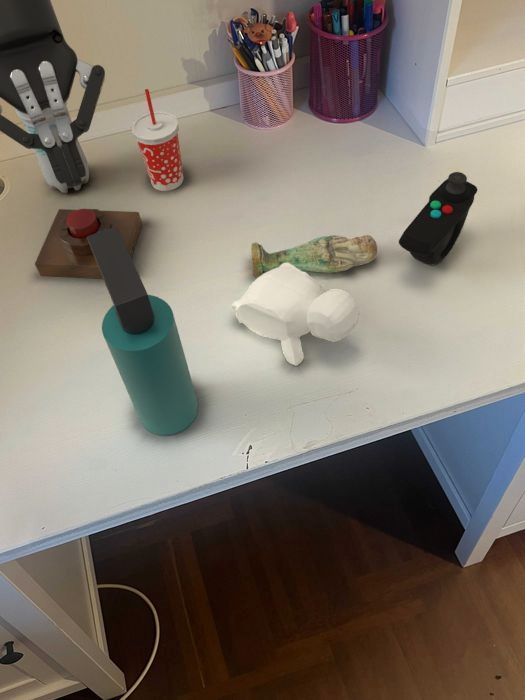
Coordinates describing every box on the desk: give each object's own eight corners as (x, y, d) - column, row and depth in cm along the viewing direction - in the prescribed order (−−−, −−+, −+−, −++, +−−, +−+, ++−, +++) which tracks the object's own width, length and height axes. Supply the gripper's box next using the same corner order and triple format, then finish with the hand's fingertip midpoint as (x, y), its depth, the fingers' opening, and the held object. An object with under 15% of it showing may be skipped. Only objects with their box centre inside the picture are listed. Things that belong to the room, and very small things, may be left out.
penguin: (242, 350, 78) (341, 381, 68) (213, 295, 73) (317, 320, 63) (285, 304, 82) (386, 328, 71) (261, 249, 77) (366, 266, 66)
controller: (470, 235, 82) (486, 170, 74) (420, 297, 77) (432, 234, 69) (439, 222, 84) (452, 157, 76) (389, 281, 79) (396, 219, 71)
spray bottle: (206, 421, 69) (173, 296, 53) (149, 445, 68) (97, 324, 52) (172, 345, 75) (133, 213, 59) (119, 365, 74) (64, 236, 58)
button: (67, 238, 82) (62, 228, 80) (75, 218, 84) (71, 208, 82) (94, 239, 81) (90, 229, 80) (102, 219, 83) (98, 209, 82)
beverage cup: (140, 175, 94) (115, 85, 83) (179, 161, 95) (161, 71, 84) (154, 200, 90) (130, 110, 79) (195, 185, 92) (178, 95, 80)
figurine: (254, 247, 84) (252, 225, 81) (375, 247, 82) (377, 224, 79) (251, 279, 80) (248, 257, 77) (377, 279, 79) (379, 257, 76)
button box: (40, 275, 83) (29, 253, 80) (63, 221, 89) (54, 198, 86) (124, 279, 82) (116, 257, 79) (142, 224, 88) (135, 201, 84)
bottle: (102, 183, 93) (57, 48, 77) (60, 204, 91) (4, 70, 75) (80, 160, 97) (33, 26, 81) (39, 180, 95) (-18, 47, 78)
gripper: (-86, -1, 53) (1, 207, 58) (72, -43, 55) (144, 161, 60) (-64, 24, 60) (12, 208, 65) (76, -14, 63) (139, 167, 67)
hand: (75, 185), depth 62 cm, fingers closed
